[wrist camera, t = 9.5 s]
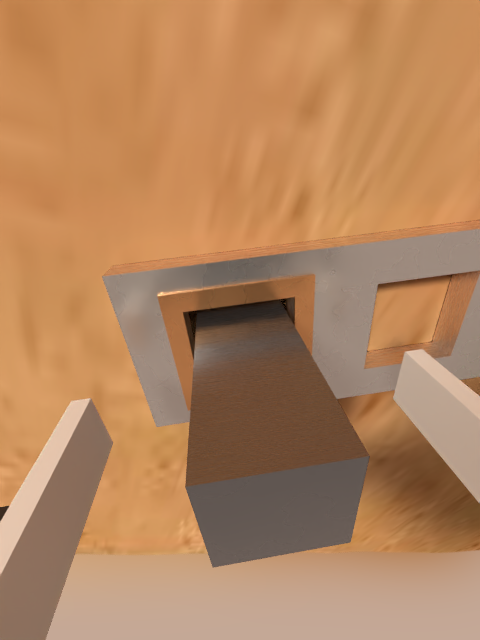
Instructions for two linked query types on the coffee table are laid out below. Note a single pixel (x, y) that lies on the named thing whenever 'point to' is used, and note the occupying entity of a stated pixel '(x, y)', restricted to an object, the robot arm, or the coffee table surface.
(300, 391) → the rectangular block
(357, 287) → the grey board with holes
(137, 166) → the coffee table surface
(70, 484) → the robot arm
